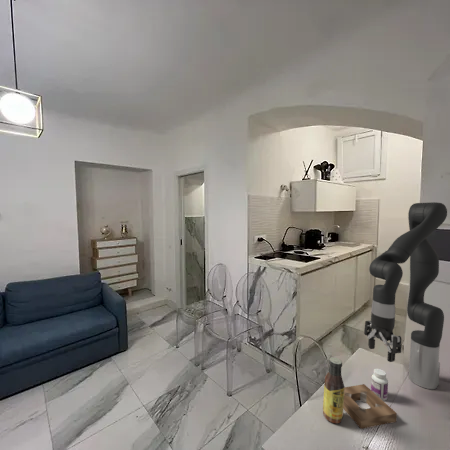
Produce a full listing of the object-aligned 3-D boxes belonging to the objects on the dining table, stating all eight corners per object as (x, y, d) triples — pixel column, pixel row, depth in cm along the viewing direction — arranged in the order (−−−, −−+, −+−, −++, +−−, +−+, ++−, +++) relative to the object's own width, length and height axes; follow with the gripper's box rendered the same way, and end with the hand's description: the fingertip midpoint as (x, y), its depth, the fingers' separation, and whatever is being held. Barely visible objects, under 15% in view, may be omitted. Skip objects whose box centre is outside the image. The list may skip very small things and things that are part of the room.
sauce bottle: (334, 427, 78) (336, 368, 77) (318, 413, 83) (320, 358, 82) (347, 420, 81) (349, 363, 80) (331, 406, 86) (333, 353, 85)
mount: (363, 391, 94) (364, 384, 94) (396, 421, 80) (396, 413, 80) (332, 396, 91) (333, 389, 91) (361, 429, 77) (361, 420, 77)
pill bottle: (382, 391, 94) (383, 367, 94) (390, 401, 89) (391, 376, 88) (368, 390, 95) (369, 366, 94) (375, 400, 89) (376, 375, 89)
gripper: (409, 320, 84) (406, 365, 85) (375, 305, 98) (373, 343, 99) (391, 322, 83) (388, 367, 83) (360, 306, 97) (358, 345, 97)
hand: (380, 354), depth 91 cm, fingers open, 8 cm apart
